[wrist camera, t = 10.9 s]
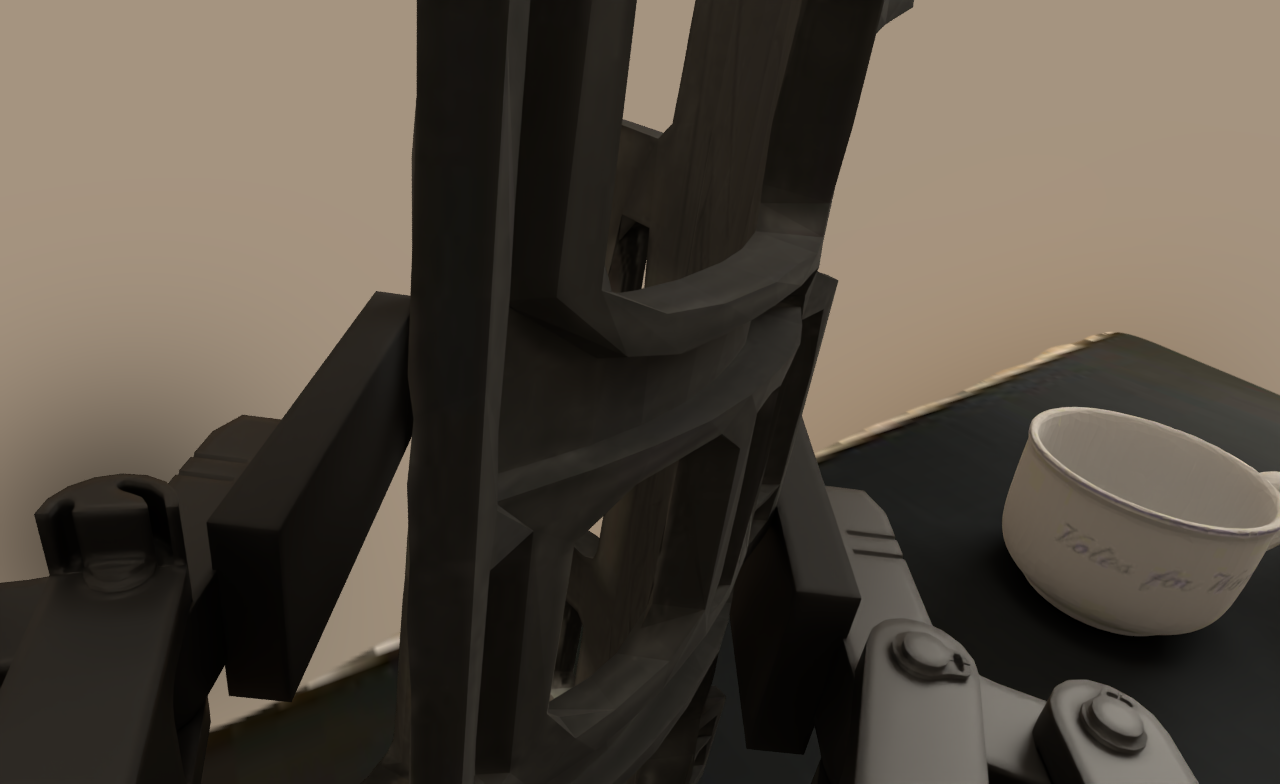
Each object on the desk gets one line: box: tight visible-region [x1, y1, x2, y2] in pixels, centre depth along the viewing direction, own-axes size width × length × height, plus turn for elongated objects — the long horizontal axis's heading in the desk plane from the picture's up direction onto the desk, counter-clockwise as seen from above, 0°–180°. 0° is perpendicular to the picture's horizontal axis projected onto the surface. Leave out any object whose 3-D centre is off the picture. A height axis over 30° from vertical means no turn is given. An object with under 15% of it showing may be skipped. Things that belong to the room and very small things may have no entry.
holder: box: [360, 0, 914, 784], centre depth 11 cm, size 11×8×20 cm
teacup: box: [1002, 407, 1280, 636], centre depth 40 cm, size 14×11×8 cm
